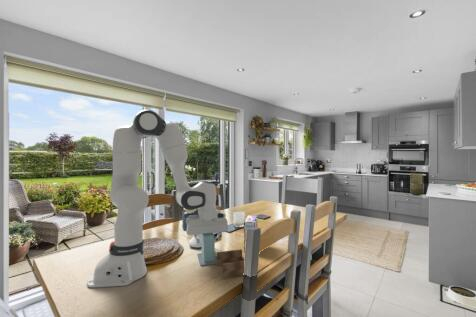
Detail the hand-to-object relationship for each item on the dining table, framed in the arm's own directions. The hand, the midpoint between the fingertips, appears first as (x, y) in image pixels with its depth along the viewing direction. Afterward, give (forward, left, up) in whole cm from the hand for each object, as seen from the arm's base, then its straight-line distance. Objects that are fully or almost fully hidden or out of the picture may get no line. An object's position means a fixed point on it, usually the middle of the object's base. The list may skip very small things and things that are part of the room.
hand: (207, 242), depth 118 cm
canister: (-3, +52, -9) cm, 53 cm away
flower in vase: (-3, +19, -9) cm, 21 cm away
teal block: (0, 0, -8) cm, 8 cm away
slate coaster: (0, 0, -9) cm, 9 cm away
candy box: (+25, +7, -9) cm, 28 cm away
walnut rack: (+9, -14, -9) cm, 19 cm away
